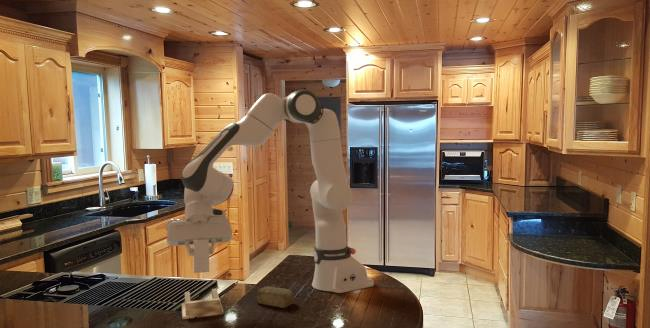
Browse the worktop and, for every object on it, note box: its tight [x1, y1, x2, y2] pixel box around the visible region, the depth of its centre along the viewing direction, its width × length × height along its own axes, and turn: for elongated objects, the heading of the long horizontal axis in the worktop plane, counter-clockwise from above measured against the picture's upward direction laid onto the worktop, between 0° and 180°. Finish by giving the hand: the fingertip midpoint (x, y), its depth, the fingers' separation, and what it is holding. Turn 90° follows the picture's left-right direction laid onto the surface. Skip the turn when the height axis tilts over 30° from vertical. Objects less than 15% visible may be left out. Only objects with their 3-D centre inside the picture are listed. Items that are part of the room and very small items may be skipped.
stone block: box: [256, 285, 295, 309], centre depth 146 cm, size 6×12×5 cm, turn 63°
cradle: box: [181, 288, 224, 320], centre depth 141 cm, size 12×12×4 cm
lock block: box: [192, 238, 210, 274], centre depth 141 cm, size 4×5×10 cm
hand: (201, 254), depth 140 cm, fingers closed on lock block, 4 cm apart
